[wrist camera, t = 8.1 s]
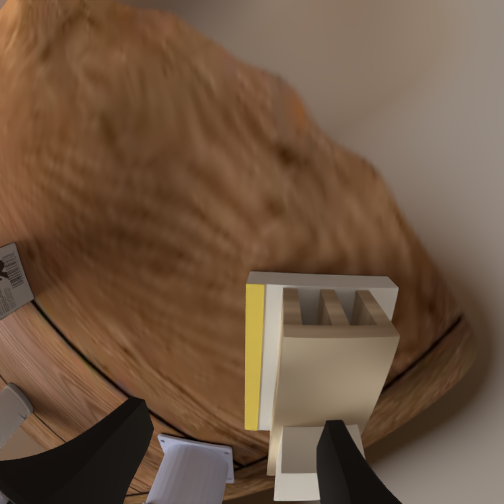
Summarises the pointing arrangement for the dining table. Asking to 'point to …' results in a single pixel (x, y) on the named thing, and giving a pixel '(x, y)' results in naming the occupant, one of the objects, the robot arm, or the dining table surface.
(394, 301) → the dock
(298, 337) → the slotted cream block
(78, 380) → the dining table surface
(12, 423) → the travel mug
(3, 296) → the coffee box
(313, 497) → the plain white block
